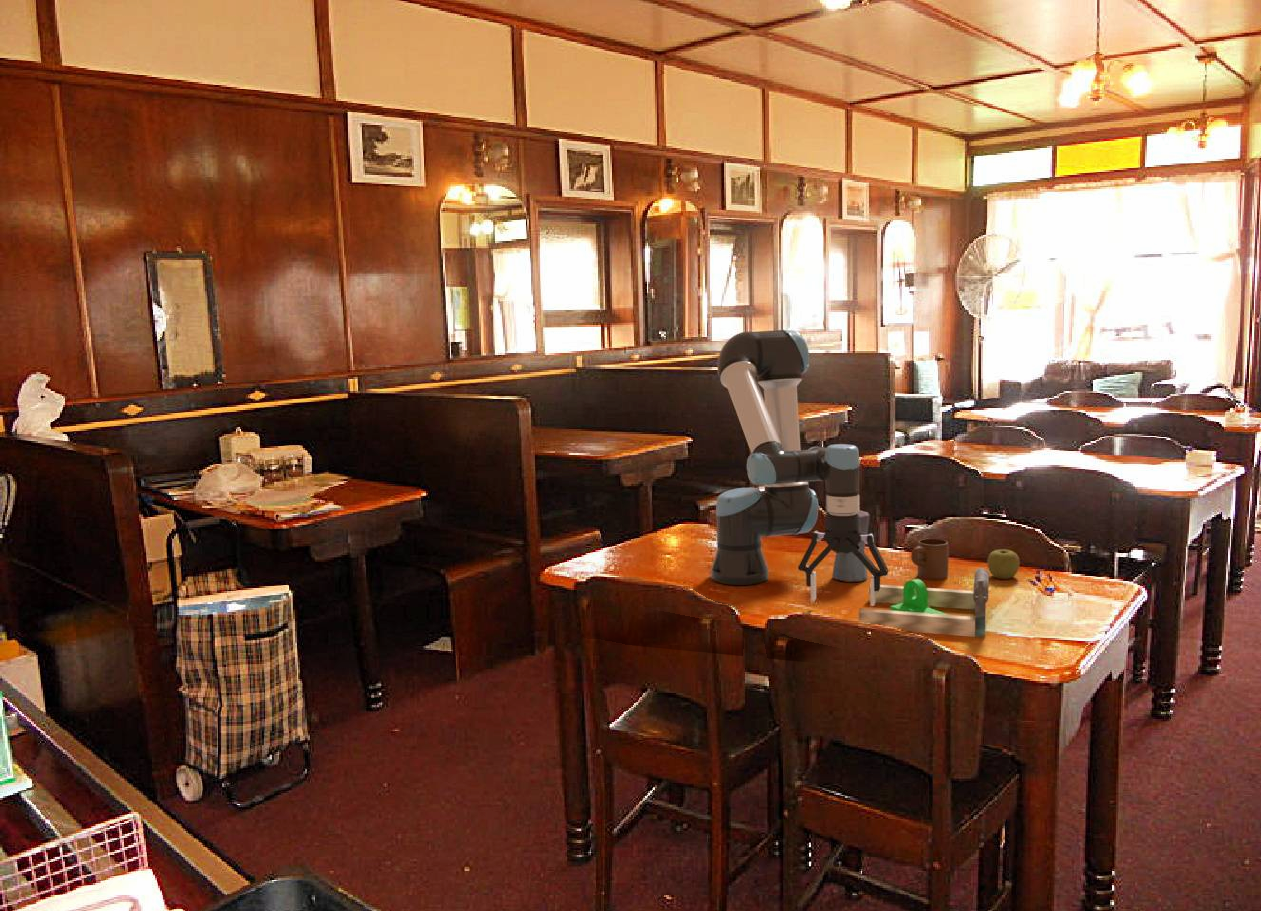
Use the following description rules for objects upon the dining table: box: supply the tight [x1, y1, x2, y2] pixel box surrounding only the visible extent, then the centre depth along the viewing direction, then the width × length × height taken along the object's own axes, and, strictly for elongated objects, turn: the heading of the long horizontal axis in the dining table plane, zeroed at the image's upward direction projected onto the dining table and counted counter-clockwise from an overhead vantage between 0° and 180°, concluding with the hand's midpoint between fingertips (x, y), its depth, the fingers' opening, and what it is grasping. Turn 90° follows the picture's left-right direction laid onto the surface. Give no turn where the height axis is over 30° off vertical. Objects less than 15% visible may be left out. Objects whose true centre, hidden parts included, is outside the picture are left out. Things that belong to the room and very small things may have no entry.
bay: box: [858, 567, 990, 638], centre depth 209 cm, size 26×22×13 cm
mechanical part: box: [890, 578, 949, 615], centre depth 210 cm, size 12×6×8 cm, turn 28°
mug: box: [910, 538, 950, 581], centre depth 240 cm, size 12×8×9 cm, turn 125°
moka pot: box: [832, 509, 871, 583], centre depth 241 cm, size 10×15×20 cm, turn 155°
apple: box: [986, 548, 1021, 580], centre depth 238 cm, size 8×8×7 cm
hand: (842, 602), depth 216 cm, fingers open, 13 cm apart
